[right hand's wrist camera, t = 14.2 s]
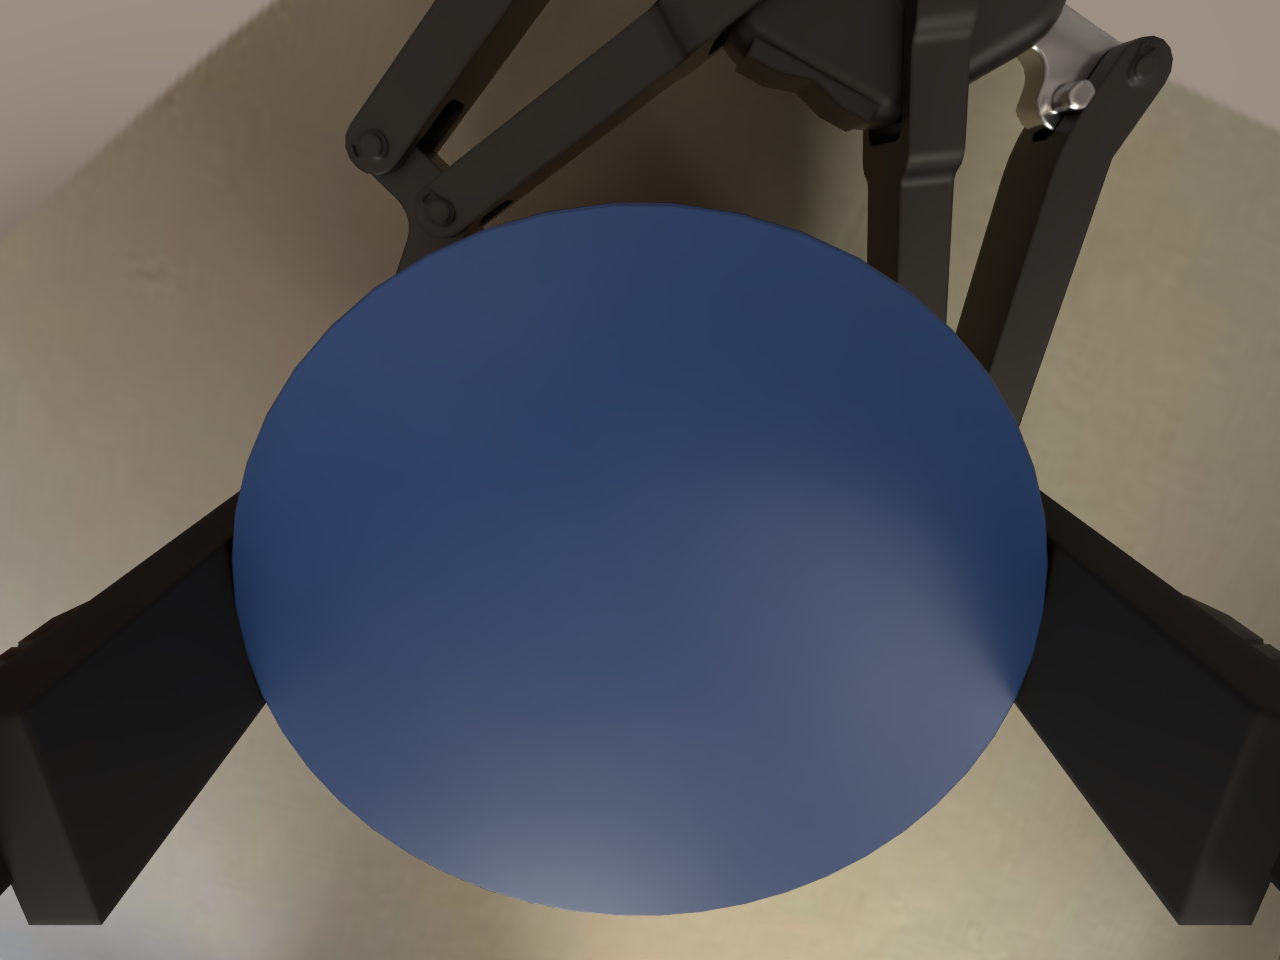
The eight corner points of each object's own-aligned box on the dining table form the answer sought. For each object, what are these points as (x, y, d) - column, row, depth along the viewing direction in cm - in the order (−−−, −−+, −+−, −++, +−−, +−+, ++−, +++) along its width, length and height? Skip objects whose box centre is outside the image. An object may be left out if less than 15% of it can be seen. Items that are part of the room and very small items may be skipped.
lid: (763, 24, 9) (799, -28, 7) (1076, 636, 13) (1164, 725, 11) (159, 467, 12) (49, 528, 9) (563, 887, 15) (550, 1002, 13)
